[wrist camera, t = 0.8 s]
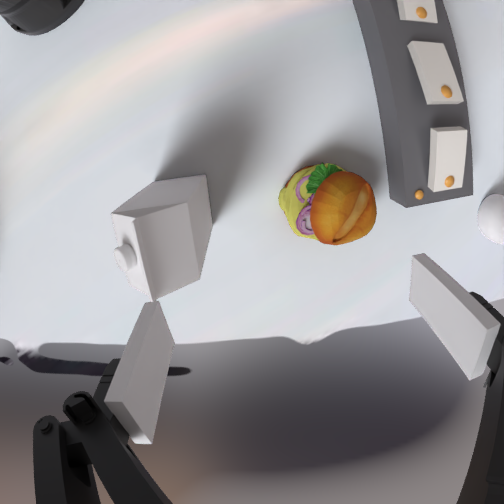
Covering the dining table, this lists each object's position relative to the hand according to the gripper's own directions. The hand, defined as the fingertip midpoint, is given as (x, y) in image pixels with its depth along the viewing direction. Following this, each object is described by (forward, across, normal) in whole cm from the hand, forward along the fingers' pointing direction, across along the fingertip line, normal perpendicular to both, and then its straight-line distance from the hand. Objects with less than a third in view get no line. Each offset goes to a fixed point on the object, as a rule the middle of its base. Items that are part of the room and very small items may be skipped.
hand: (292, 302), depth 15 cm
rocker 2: (+20, +23, +13) cm, 34 cm away
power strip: (+27, +23, +16) cm, 39 cm away
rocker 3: (+20, +24, +2) cm, 31 cm away
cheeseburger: (+27, +8, -2) cm, 28 cm away
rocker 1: (+20, +23, +24) cm, 39 cm away
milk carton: (+27, -10, 0) cm, 29 cm away
